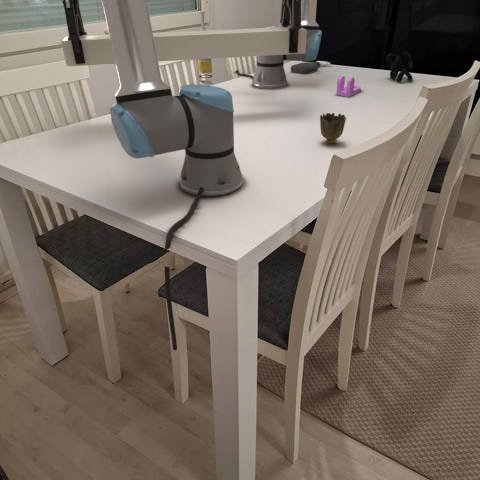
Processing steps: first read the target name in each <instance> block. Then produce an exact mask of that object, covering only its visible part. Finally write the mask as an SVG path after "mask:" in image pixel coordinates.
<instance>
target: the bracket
mask: <svg viewBox="0 0 480 480" xmlns="http://www.w3.org/2000/svg"><path fill="white" fill-rule="evenodd" d="M345 77H346V76H343V75H339V77H338V78H337V83H336V93H335V95H336V96H342V97H348V98H349V97H352V96H353V95H355V94H357V93H360V92H361V89H362V88H361V86H359V85H355V83H356V82H355V80H356V79H355V77H352V76H349V77H348V78H347V81H346V78H345ZM345 81H346V82H345ZM345 83H346V86H345Z"/></svg>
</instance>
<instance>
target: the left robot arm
mask: <svg viewBox="0 0 480 480" xmlns="http://www.w3.org/2000/svg"><path fill="white" fill-rule="evenodd" d="M101 2H102V7H103V13H104V16H105V21H106V26H107V31H108V35H110V40H111V45H112V49H113V54H114V58H115V63H116V64H115V68H116V71H117V76H118V81H119V85H120V86H119V88H118V90H117V91H116V93H115V94H114V96H115V101H116V103H114V104H113V105H112V106H111V107H110V109H109V113H110V119H111V123H112V124H111V125H112V126H113V130H114V132H115V133H114V134H115V135H116V137H117V139H118V141H119V144H120V145H121V147H122V149H123V151H125V153H126V154H127V155H128V156H129V157H131V158H132V159H143V158H154V157H155V156H158V155H159V156H160V155H163V154H168V153H174V152H178V151H182V150H184V154H185V155H184V158H183V164H182V168H181V171H180V177H179V178H180V179H179V183H180V184H179V185H180V188H181V189H182V191H184V192H186V193H187V194H190V195H194V196H195V197H194V199H193V202H192V204H191V205H190V208H189V210H188V212H187V213H186V214H185V215H184V217H182V218H181V219H180V220H178V221H176V222H175V223H174V224H173V225H172V226H171V227H170V228H169V229H168V231H167V233H166V237H165V244H164V249H165V250H169V249H170V248H171V241H172V236H173V233H174V232H175V231H176V229H177V228H178V227H180V226H182V225H183V224H184V223H186V222H187V221H188V220H189V219H190V218H191V216H192V215H193V213H194V211H195V209H196V207H197V204H198V203H199V200H200V199H201V197H221V196H224V195H229V194H232V193H234V192H235V191H237V190H239V189H240V188H241V187H242V185H243V174H242V171H241V167H240V163H239V161H238V160H237V157H236V154H235V132H234V131H235V130H234V127H235V126H234V113H235V109H234V102H233V96H232V93H231V92H230V91H229V90H227V89H225V88H223V87H220V86H214V85H210V84H209V85H202V84H184V85H181V86H180V87H179V91H178V93H179V94H178V95H173V93H172V89H171V86H169V85H168V84H167V83H166V82H165V81H164V80H163V79H162V75H161V69H160V64H159V61H158V58H157V53H156V48H155V43H154V37H153V33H154V32H153V27H152V22H151V16H150V11H149V6H148V2H147V0H101ZM62 5H63V9H64V15H65V21H66V26H67V32H68V37H69V38H68V41H70V40H71V43H72V48H73V53H74V57H75V62H76V64H85V58H84V53H83V48H82V43H81V40H80V36H88V33H87V31H86V30H85V26H84V23H83V18H82V13H81V7H80V0H62ZM170 273H171V271H170V267H169V266H164V284H165V297H166V307H167V315H168V322H169V329H170V335H171V344H172V351H177V350H178V344H177V342H178V341H177V336H176V335H177V333H176V326H175V320H174V312H173V304H172V292H171V274H170Z"/></svg>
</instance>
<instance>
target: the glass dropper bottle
mask: <svg viewBox="0 0 480 480" xmlns="http://www.w3.org/2000/svg"><path fill="white" fill-rule="evenodd" d="M199 14H200V21H201V29H200V30H201V31H206V28H205V14H206V12H205V11H199ZM197 60H198V62H197V63H198V74H200V75H199V76H198V77H199V78H201V79H203V80H200V81H199V85H209V86H210V85H212V84H213V83H214V82H213V80H212V79H211V80H210V78H213V75H212V73H213V70H212V69H213V67H212V66H213V65H212V59H197Z"/></svg>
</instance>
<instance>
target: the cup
mask: <svg viewBox="0 0 480 480" xmlns="http://www.w3.org/2000/svg"><path fill="white" fill-rule="evenodd" d="M346 120H347V116H346V115H345V114H341V113H338V115H335V113H334V112H332V113H330V112H327V113H326V114H324V113H322V114H320V115H319V126H320V134H321V136H322V137H323V138H324V143H325V144H328V145H335V144H336V143H338V139H339V138H340V137H342V135H343V132H344V129H345V124H346Z"/></svg>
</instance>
